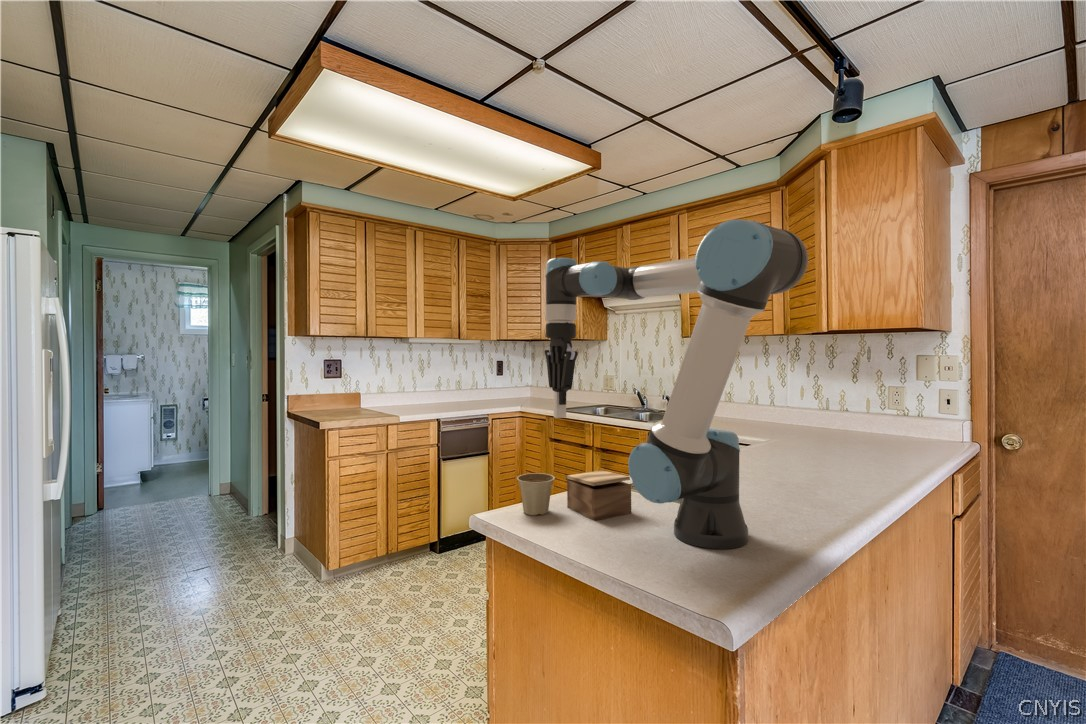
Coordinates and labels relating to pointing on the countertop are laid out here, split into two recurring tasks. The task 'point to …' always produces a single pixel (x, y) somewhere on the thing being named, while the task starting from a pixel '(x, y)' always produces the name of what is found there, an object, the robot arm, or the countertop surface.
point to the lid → (597, 478)
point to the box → (599, 499)
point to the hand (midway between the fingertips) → (559, 417)
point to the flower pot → (535, 492)
